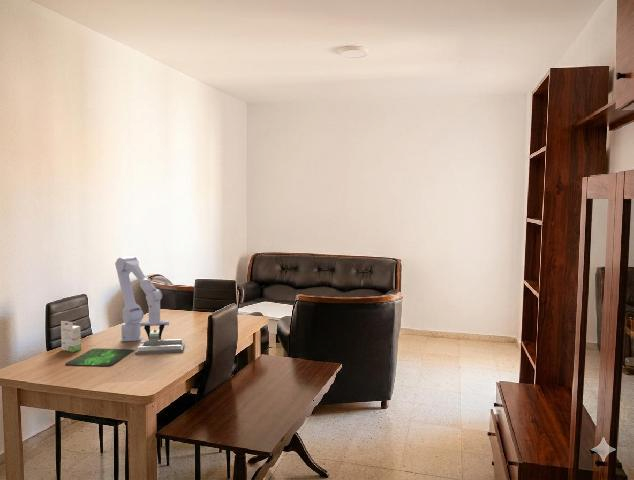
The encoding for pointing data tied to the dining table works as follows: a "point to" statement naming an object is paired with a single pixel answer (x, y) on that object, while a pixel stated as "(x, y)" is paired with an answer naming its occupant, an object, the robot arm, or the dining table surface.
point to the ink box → (70, 336)
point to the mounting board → (160, 350)
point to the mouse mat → (100, 357)
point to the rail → (158, 342)
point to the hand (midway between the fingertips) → (154, 339)
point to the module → (154, 335)
